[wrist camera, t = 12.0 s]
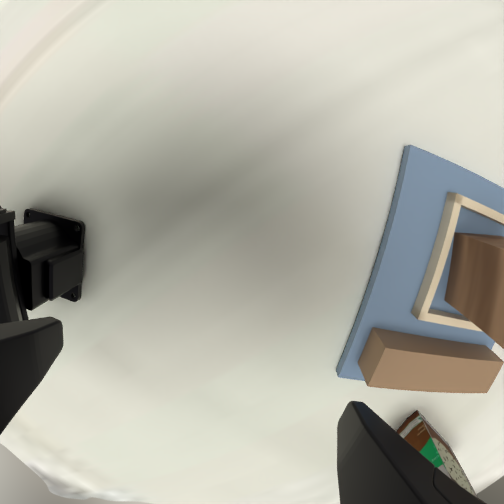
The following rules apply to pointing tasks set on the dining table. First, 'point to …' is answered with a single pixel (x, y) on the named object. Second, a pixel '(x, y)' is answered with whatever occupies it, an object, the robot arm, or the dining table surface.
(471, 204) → the blueprint board
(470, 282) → the pillar
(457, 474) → the food container
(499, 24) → the dining table surface
